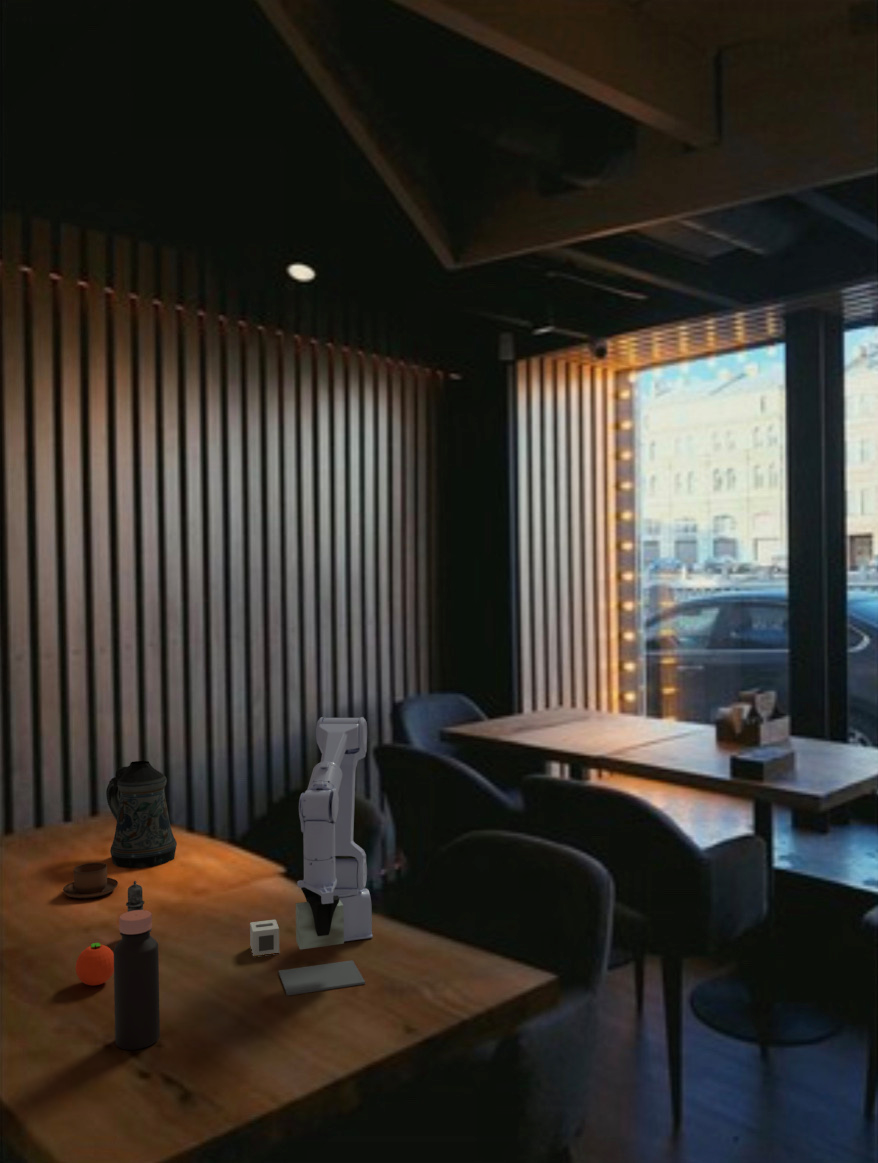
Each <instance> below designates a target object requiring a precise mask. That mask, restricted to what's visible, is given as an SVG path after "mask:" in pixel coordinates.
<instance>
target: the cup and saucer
mask: <svg viewBox="0 0 878 1163" xmlns="http://www.w3.org/2000/svg"><path fill="white" fill-rule="evenodd" d="M118 884H119V882H118V880H117V879H115V878H112V877H108V865H107V864H106V863H104V862H89V863H83V864H80V865H77V866H76V867H74V868H73V881H72V882H69V883H67V884H65V886H64V887H63V889H62V891H63V894H65V895H66V896H68V897H70V898H74V899H94V898H98V897H101V896H102V897H103V896H105V895H108V894H110V893H112V892H113V891H114V890H116V889H117V887H118Z"/></svg>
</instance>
